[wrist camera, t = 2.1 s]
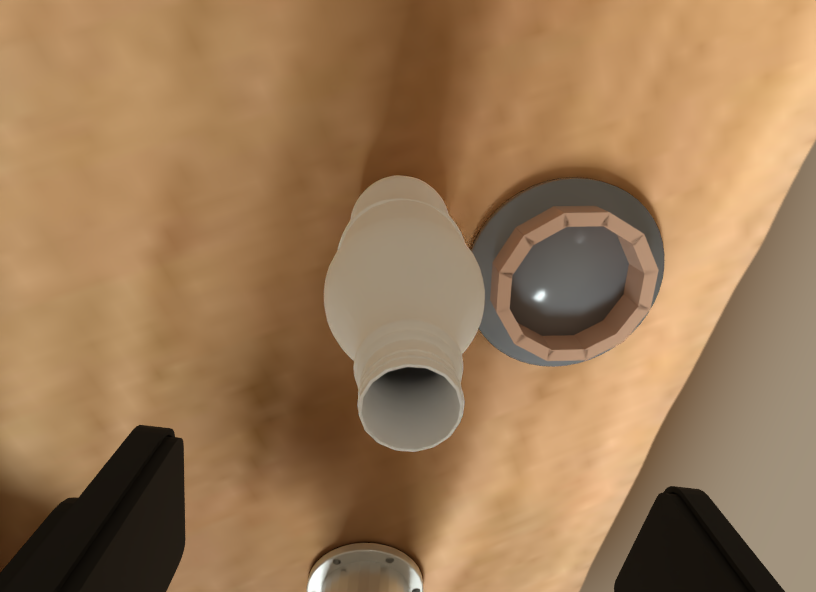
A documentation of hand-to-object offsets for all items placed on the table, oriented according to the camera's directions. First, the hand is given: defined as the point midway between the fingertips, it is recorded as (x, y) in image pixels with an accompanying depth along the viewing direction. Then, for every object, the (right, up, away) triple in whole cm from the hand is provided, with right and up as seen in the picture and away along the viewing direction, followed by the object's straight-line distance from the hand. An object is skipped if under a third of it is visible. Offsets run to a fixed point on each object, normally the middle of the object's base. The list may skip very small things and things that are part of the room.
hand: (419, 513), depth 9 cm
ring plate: (+12, +6, +29) cm, 32 cm away
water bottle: (-1, +10, +27) cm, 29 cm away
